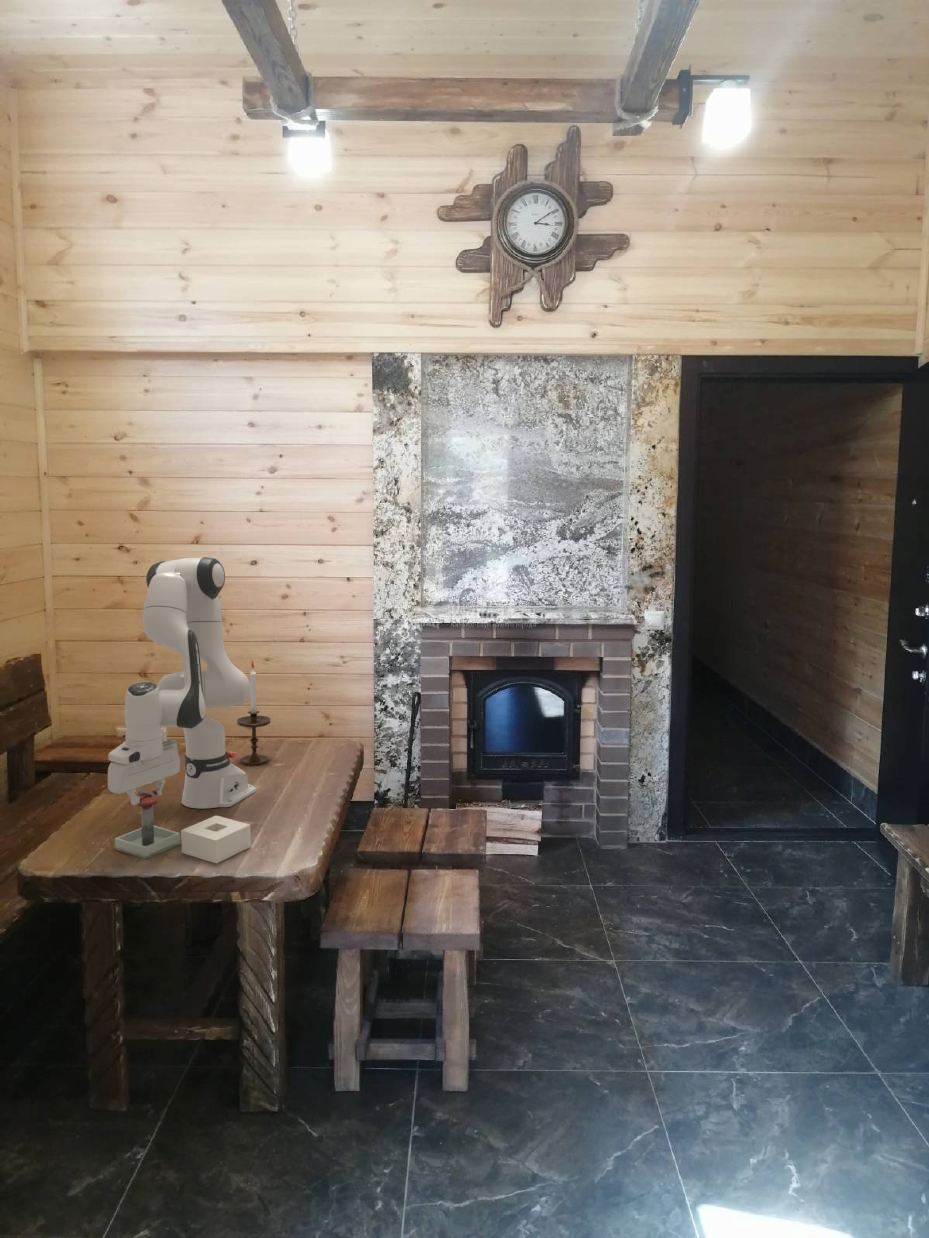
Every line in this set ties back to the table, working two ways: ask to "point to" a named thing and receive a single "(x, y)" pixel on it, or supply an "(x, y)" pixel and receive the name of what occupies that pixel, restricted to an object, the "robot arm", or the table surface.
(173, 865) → the table surface
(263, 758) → the candlestick
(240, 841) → the block
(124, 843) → the tray
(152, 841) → the red disc rod
